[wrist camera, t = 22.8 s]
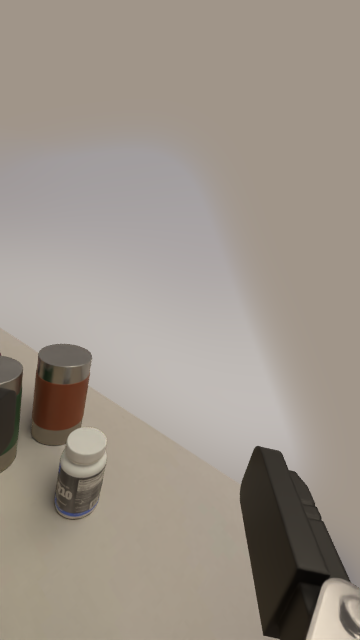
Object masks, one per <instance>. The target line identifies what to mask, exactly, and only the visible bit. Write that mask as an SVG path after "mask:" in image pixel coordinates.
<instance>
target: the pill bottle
mask: <svg viewBox="0 0 360 640" xmlns="http://www.w3.org/2000/svg"><path fill="white" fill-rule="evenodd" d="M106 443H107V439H106V436H105V435H104V433H103V432H102V431H100V430H98V429H96V428H92V427H82V428H78V429H76V430H74V431H73V432H71V433H70V435H69V436H68V438H67V442H66V447H65V450H64V451H63V453H62V455H61V458H60V465H59V472H58V479H57V487H56V493H55V507H56V509H57V511H58V513H59V514H60V515H62V516H64V517H66V518H69V519H78V518H82V517H84V516H86V515H88V514H90V513H91V512H92V511H93V510H94V509H95V507H96V505H97V503H98V500H99V496H100V491H101V486H102V481H103V476H104V471H105V466H106V461H107V455H106V452H105V449H106Z"/></svg>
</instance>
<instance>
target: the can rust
mask: <svg viewBox="0 0 360 640" xmlns="http://www.w3.org/2000/svg"><path fill="white" fill-rule="evenodd" d="M91 360H92V355H91V353H90V352H89V351H88V350H86V349H85V348H82V347H80V346H76V345H70V344H55V345H50V346H46V347H44V348H43V349H41V350H40V351H39V354H38V364H37V370H36V379H35V390H34V401H33V411H32V427H31V434H32V436H33V438H34V439H35V440H36V441H37V442H39V443H42V444H45V445H52V446H55V445H62V444H66V442H67V438H68V436H69V435H70V433H71V432H73V431H74V430H76V429H78V428H81V424H82V418H83V414H84V408H85V402H86V395H87V389H88V382H89V376H90V366H91Z"/></svg>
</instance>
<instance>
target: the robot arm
mask: <svg viewBox="0 0 360 640" xmlns="http://www.w3.org/2000/svg"><path fill="white" fill-rule="evenodd" d="M16 399H17V395H16V392H15V391H14V390H10V389H6V388H1V387H0V456H1V454H2V453H3V452H4V451H5V450H6V448H7V447H8V445H9V443H10V442H11V439H12V437H13V434H14V428H15V414H16ZM240 504H241V510H242V515H243V521H244V527H245V533H246V538H247V544H248V550H249V556H250V561H251V567H252V573H253V579H254V585H255V590H256V596H257V602H258V608H259V613H260V619H261V625H262V631H263V636H268V637H273V638H278V639H280V640H360V588H359V587H357V586H356V585H354V584H352V583H351V582H350V580H349V577H348V575H347V573H346V571H345V569H344V566H343V564H342V562H341V560H340V558H339V555H338V553H337V551H336V549H335V546H334V544H333V542H332V540H331V538H330V535H329V533H328V531H327V529H326V526H325V524H324V522H323V521H322V520H321V515H320V513H319V511H318V509H317V507H315V503H314V500H313V498H312V496H311V493H310V491H309V489H308V487H307V485H306V484H305V483H304V482H303V481H302V480H301V478H300V477H299V476H298V475H297V473H296V472H294V471H290V470H288V467H287V465H286V462H285V460H284V457H283V455H282V453H281V452H280V451H277V450H273V449H268V448H264V447H260V446H256V447H255V449H254V451H253V453H252V456H251V458H250V461H249V464H248V466H247V469H246V472H245V474H244V477H243V480H242V484H241V488H240Z"/></svg>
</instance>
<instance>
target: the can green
mask: <svg viewBox="0 0 360 640" xmlns="http://www.w3.org/2000/svg"><path fill="white" fill-rule="evenodd" d="M22 376H23V366H22V365H21V363H20V362H18V361H17V360H15V359H12V358H9V357H5V356H0V387H1V388H6V389H10V390H14V391H15V392H16V395H17V399H16V414H15V428H14V434H13V437H12V439H11V442H10V443H9V445H8V447H7V448H6V450H5V451H4V452H3V453H2V454H1V456H0V472H2V471H4V470H5V469H6V468H7V467H9V466H10V465H11V463H12V462H13V461H14V459H15V457H16V451H17V440H18V433H19V421H20V408H21V396H22Z"/></svg>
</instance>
